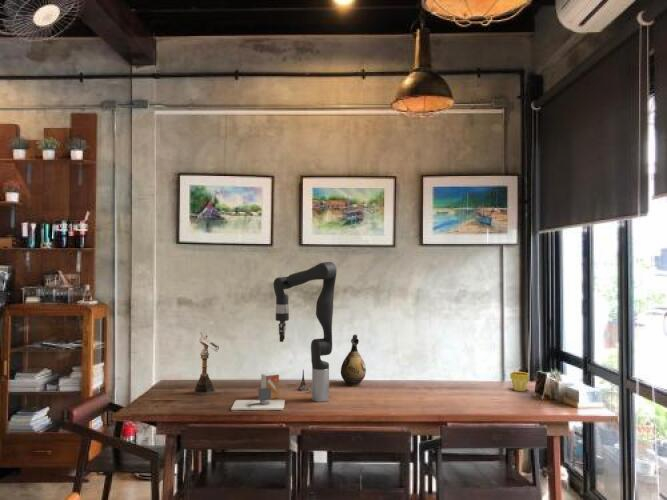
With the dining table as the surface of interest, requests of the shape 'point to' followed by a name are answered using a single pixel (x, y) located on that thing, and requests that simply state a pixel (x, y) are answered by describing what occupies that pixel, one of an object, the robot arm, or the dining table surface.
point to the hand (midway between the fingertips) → (282, 340)
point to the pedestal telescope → (205, 369)
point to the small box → (271, 383)
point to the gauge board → (258, 405)
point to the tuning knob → (264, 396)
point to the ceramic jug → (353, 366)
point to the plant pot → (519, 380)
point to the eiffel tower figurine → (304, 385)
